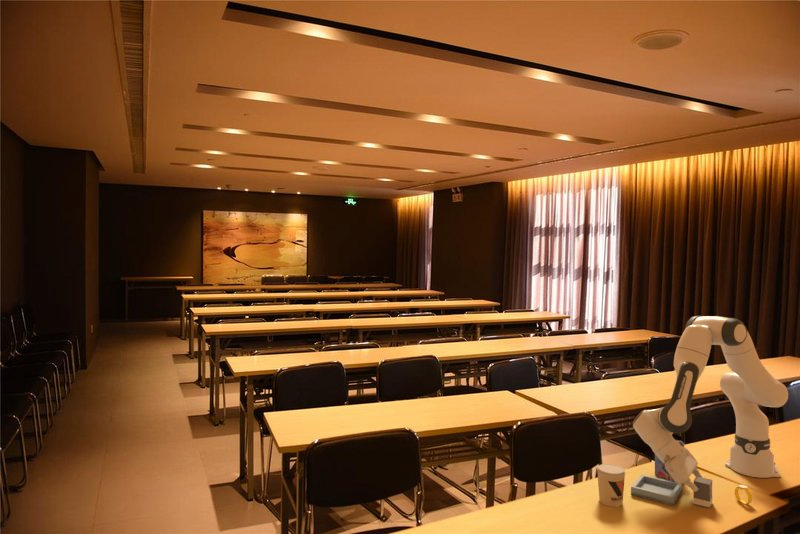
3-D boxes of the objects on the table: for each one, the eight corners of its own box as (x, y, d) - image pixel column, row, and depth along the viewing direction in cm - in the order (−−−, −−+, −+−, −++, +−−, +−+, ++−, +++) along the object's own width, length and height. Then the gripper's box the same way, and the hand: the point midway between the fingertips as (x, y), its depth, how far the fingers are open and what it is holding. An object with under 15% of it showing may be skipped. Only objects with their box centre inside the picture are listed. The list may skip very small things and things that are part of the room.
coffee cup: (612, 510, 187) (612, 475, 187) (591, 499, 195) (591, 466, 195) (630, 504, 191) (631, 470, 191) (609, 493, 200) (609, 461, 199)
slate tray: (641, 482, 210) (641, 474, 209) (681, 491, 201) (681, 483, 201) (630, 494, 199) (630, 486, 199) (672, 505, 190) (672, 497, 190)
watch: (733, 500, 194) (732, 483, 194) (739, 499, 195) (738, 482, 195) (748, 506, 188) (747, 489, 189) (754, 505, 189) (753, 488, 189)
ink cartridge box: (653, 473, 218) (653, 437, 217) (665, 471, 219) (665, 436, 219) (671, 483, 208) (672, 446, 208) (683, 481, 210) (683, 444, 209)
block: (696, 499, 195) (696, 476, 194) (712, 503, 191) (712, 479, 191) (693, 504, 191) (693, 480, 190) (709, 508, 187) (709, 484, 187)
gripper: (669, 456, 188) (700, 491, 182) (682, 439, 204) (712, 472, 198) (655, 465, 191) (686, 500, 185) (669, 448, 207) (698, 480, 201)
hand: (699, 485), depth 191 cm, fingers open, 8 cm apart
